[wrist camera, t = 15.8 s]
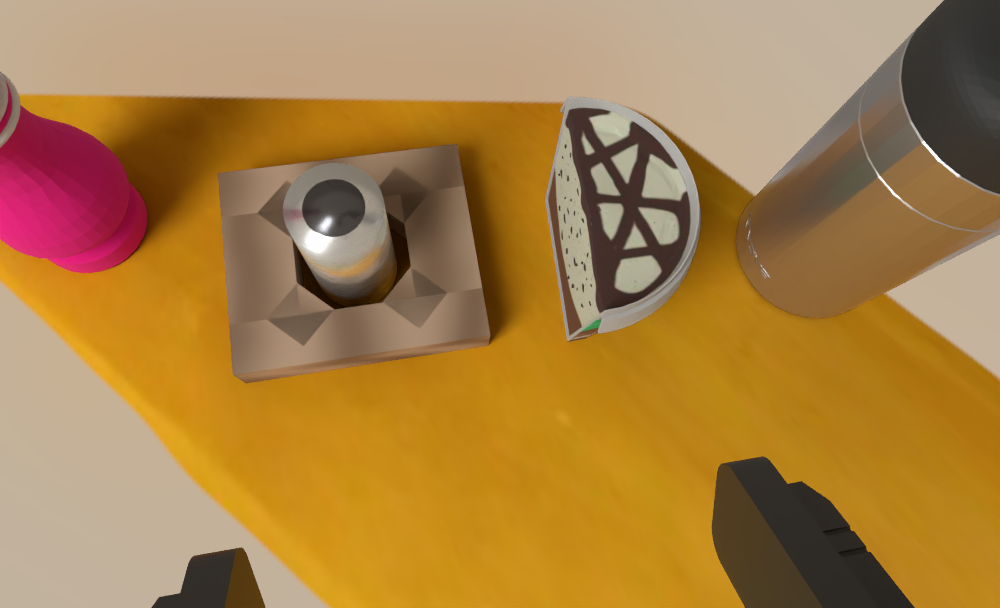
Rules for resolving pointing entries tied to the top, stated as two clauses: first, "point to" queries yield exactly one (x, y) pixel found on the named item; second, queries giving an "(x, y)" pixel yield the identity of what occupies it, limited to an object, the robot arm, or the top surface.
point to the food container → (618, 216)
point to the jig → (362, 329)
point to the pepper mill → (63, 192)
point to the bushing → (342, 232)
